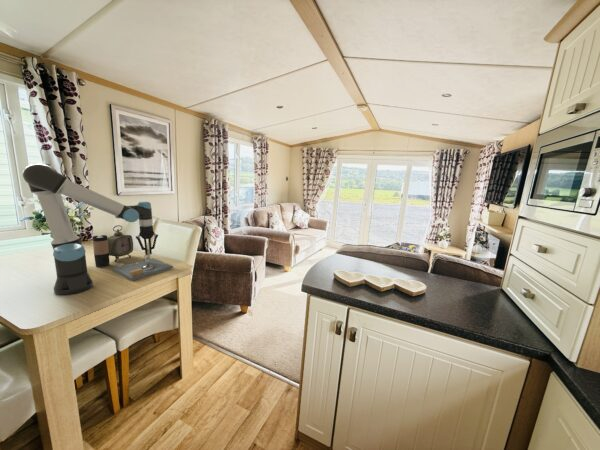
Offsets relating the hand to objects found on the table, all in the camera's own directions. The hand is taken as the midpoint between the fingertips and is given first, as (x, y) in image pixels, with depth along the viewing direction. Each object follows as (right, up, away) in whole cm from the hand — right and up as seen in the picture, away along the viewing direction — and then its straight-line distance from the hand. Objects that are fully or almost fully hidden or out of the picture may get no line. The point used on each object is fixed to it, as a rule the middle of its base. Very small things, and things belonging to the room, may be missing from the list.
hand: (149, 259), depth 161 cm
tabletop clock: (-28, -2, +10) cm, 29 cm away
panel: (0, -6, -5) cm, 8 cm away
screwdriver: (+5, -6, -15) cm, 17 cm away
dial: (+1, -4, -4) cm, 6 cm away
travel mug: (-30, -4, -2) cm, 30 cm away
